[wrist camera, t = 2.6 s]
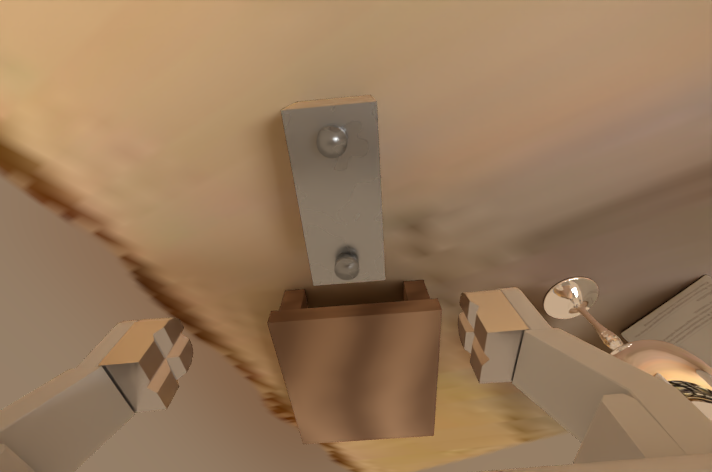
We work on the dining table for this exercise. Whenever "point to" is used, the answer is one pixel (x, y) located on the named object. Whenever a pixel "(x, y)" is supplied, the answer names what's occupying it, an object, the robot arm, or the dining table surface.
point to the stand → (360, 365)
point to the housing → (338, 186)
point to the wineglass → (637, 345)
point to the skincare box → (681, 320)
